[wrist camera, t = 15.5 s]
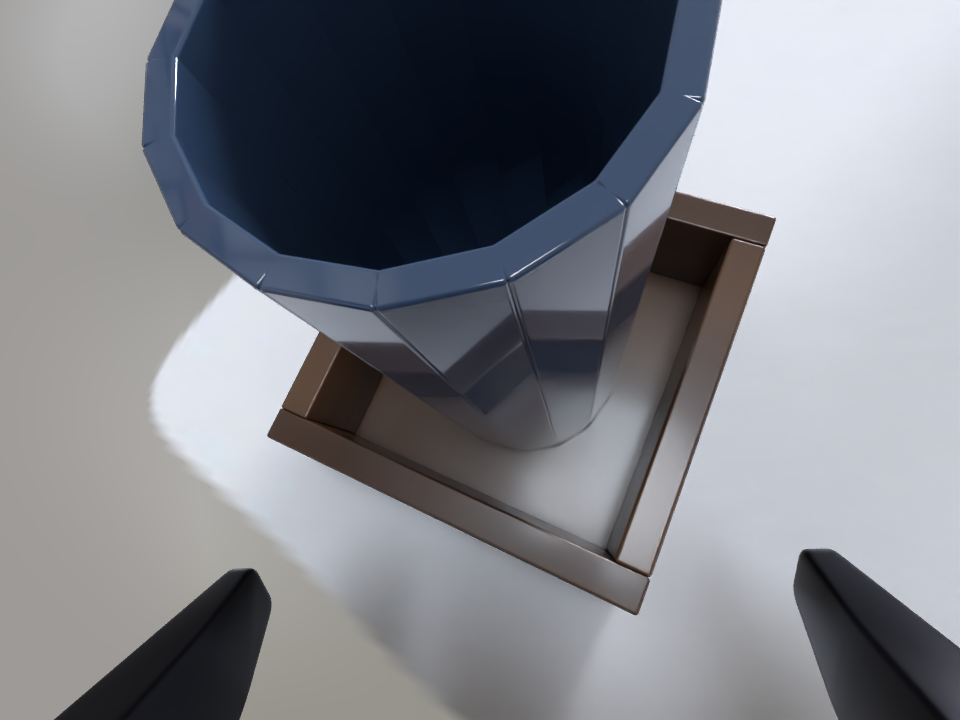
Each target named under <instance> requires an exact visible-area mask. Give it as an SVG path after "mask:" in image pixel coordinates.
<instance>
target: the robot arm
mask: <svg viewBox="0 0 960 720" xmlns="http://www.w3.org/2000/svg"><path fill="white" fill-rule="evenodd" d="M794 596H795V600H796V603H797V606H798V609H799V612H800V614H801V617H802V620H803V623H804V626H805V629H806V632H807V635H808V637H809V640H810V643H811V646H812V649H813V652H814V655H815V657H816V660H817V663H818V666H819V669H820V672H821V675H822V678H823V680H824V683H825V686H826V689H827V692H828V695H829V697H830V700H831V703H832V705H833V708H834V710H835V713H836V715H837V717H838V719H839V720H960V648H959V647H958V646H956V645H955V644H954V643H953V642H951V641H950V640H949V639H947V638H946V637H945V636H944V635H942V634H941V633H940V632H939V631H937V630H936V629H935V628H933V627H932V626H931V625H930V624H928V623H927V622H926V621H924V620H923V619H922V618H921V617H919V616H918V615H917V614H915V613H914V612H913V611H912V610H910V609H909V608H908V607H906V606H905V605H904V604H903V603H901V602H900V601H899V600H897V599H896V598H895V597H894V596H892V595H891V594H890V593H889V592H887V591H886V590H885V589H883V588H882V587H881V586H880V585H878V584H877V583H876V582H874V581H873V580H872V579H871V578H869V577H868V576H867V575H865V574H864V573H863V572H862V571H860V570H859V569H858V568H856V567H855V566H854V565H853V564H851V563H850V562H849V561H847V560H846V559H845V558H844V557H842V556H841V555H840V554H838V553H837V552H835V551H833V550H831V549H805V550H803V551H802V552H801V553H800V555H799V559H798V564H797V569H796V574H795V579H794ZM270 612H271V598H270V595H269V593H268V591H267V589H266V587H265V586H264V584H263V582H262V580H261V578H260V576H259V574H258V573H257V571H256V570H254V569H252V568H243V569H232V570H230V571H228V572H227V573H226V574H224V575H223V576H222V577H221V578H220V579H218V580H217V581H216V582H215V583H214V584H213V585H211V586H210V587H209V588H208V589H207V590H205V591H204V592H203V593H202V594H201V595H200V596H198V597H197V598H196V599H195V600H194V601H193V602H191V603H190V604H189V605H188V606H187V607H186V608H185V609H183V610H182V611H181V612H180V613H179V614H177V615H176V616H175V617H174V618H173V619H171V620H170V621H169V622H168V623H167V624H166V625H165V626H163V627H162V628H161V629H160V630H159V631H157V632H156V633H155V634H154V635H153V636H152V637H151V638H149V639H148V640H147V641H146V642H145V643H143V644H142V645H141V646H140V647H139V648H137V649H136V650H135V651H134V652H133V653H132V654H131V655H129V656H128V657H127V658H126V659H125V660H123V661H122V662H121V663H120V664H119V665H118V666H116V667H115V668H114V669H113V670H112V671H110V672H109V673H108V674H107V675H106V676H105V677H104V678H102V679H101V680H100V681H99V682H98V683H96V684H95V685H94V686H93V687H92V688H91V689H89V690H88V691H87V692H86V693H85V694H84V695H82V696H81V697H80V698H79V699H78V700H76V701H75V702H74V703H73V704H72V705H71V706H70V707H68V708H67V709H66V710H65V711H64V712H63V713H61V714H60V715H59V716H58V717H57V718H56V719H54V720H239V719H240V716H241V713H242V711H243V708H244V705H245V702H246V699H247V695H248V692H249V689H250V685H251V681H252V678H253V675H254V670H255V667H256V664H257V660H258V656H259V653H260V649H261V645H262V642H263V638H264V634H265V631H266V627H267V624H268V620H269V616H270Z"/></svg>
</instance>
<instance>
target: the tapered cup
mask: <svg viewBox="0 0 960 720" xmlns="http://www.w3.org/2000/svg"><path fill="white" fill-rule="evenodd" d="M721 6H722V0H174V2H173V4H172V6H171V8H170V10H169V12H168V15H167V17H166V19H165V21H164V23H163V25H162V28H161V30H160V32H159V35H158V36H157V38H156V41H155V43H154V45H153V47H152V49H151V51H150V54H149V56H148V62H147V63H146V74H145V92H144V113H143V132H142V146H143V148H144V149H143V152H144V155H145V157H146V159H147V161H148V164H149V166H150V168H151V170H152V172H153V175H154V177H155V179H156V181H157V183H158V186H159V188H160V190H161V193H162V195H163V197H164V199H165V202H166V204H167V206H168V208H169V211H170V213H171V215H172V217H173V219H174V222H175V224H176V226H177V228H178V229H179V230H180V231H181V233H182V234H183V235H184V236H185V237H187V238H188V239H190V240H191V241H192V242H194V243H195V244H196V245H197V246H199V247H200V248H201V249H203V250H204V251H205V252H207V253H208V254H210V255H211V256H212V257H214V258H215V259H216V260H217V261H219V262H220V263H221V264H223V265H224V266H226V267H227V268H228V269H230V270H231V271H232V272H234V273H235V274H236V275H238V276H239V277H240V278H242V279H243V280H244V281H246V282H247V283H248V284H250V285H251V286H252V287H254V288H255V289H256V290H258V291H259V292H261V293H262V294H264V295H265V296H267V297H268V298H270V299H271V300H273V301H274V302H276V303H277V304H279V305H280V306H282V307H283V308H285V309H286V310H288V311H289V312H291V313H292V314H294V315H295V316H297V317H298V318H300V319H301V320H303V321H304V322H306V323H307V324H309V325H310V326H312V327H313V328H315V329H316V330H317V331H319V332H320V333H322V334H323V335H325V336H326V337H328V338H329V339H331V340H332V341H334V342H335V343H337V344H338V345H340V346H341V347H343V348H344V349H346V350H347V351H349V352H350V353H352V354H353V355H355V356H356V357H358V358H359V359H361V360H362V361H364V362H365V363H367V364H368V365H370V366H371V367H373V368H374V369H376V370H377V371H379V372H380V373H382V374H383V375H385V376H386V377H388V378H389V379H391V380H392V381H394V382H395V383H397V384H398V385H400V386H401V387H403V388H404V389H406V390H407V391H409V392H410V393H411V394H413V395H414V396H416V397H417V398H419V399H420V400H422V401H423V402H425V403H426V404H428V405H429V406H431V407H432V408H434V409H435V410H437V411H438V412H440V413H441V414H443V415H444V416H446V417H447V418H449V419H450V420H452V421H453V422H455V423H456V424H458V425H459V426H461V427H462V428H464V429H465V430H467V431H468V432H470V433H471V434H473V435H474V436H476V437H477V438H479V439H480V440H482V441H484V442H487V443H491V444H494V445H497V446H500V447H504V448H510V449H517V450H530V449H540V448H544V447H548V446H552V445H555V444H557V443H560V442H562V441H564V440H566V439H568V438H570V437H572V436H574V435H575V434H576V433H578V432H579V431H580V430H582V429H583V428H584V427H585V426H586V425H588V424H589V423H590V422H591V421H592V419H593V418H594V417H595V416H596V414H597V413H598V412H599V411H600V409H601V407H602V406H603V404H604V402H605V401H606V399H607V397H608V396H609V395H610V392H611V390H612V387H613V384H614V381H615V378H616V375H617V372H618V368H619V365H620V362H621V359H622V356H623V353H624V350H625V347H626V344H627V341H628V337H629V334H630V331H631V328H632V325H633V322H634V319H635V316H636V313H637V310H638V306H639V303H640V300H641V297H642V294H643V291H644V288H645V285H646V282H647V279H648V275H649V272H650V269H651V266H652V263H653V260H654V257H655V254H656V251H657V248H658V244H659V241H660V238H661V235H662V232H663V229H664V226H665V223H666V220H667V217H668V214H669V210H670V207H671V204H672V201H673V198H674V195H675V192H676V189H677V186H678V183H679V179H680V176H681V173H682V170H683V167H684V164H685V161H686V158H687V155H688V152H689V148H690V145H691V142H692V139H693V136H694V133H695V130H696V127H697V124H698V121H699V117H700V114H701V111H702V108H703V105H704V102H705V98H706V92H707V87H708V81H709V75H710V69H711V64H712V58H713V52H714V46H715V40H716V35H717V29H718V23H719V17H720V12H721Z"/></svg>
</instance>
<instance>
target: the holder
mask: <svg viewBox="0 0 960 720" xmlns="http://www.w3.org/2000/svg"><path fill="white" fill-rule="evenodd" d="M775 221H776V218H775V217H771V216H768V215H764V214H760V213H756V212H752V211H749V210H745V209H741V208H737V207H733V206H730V205H726V204H722V203H718V202H714V201H710V200H707V199H703V198H699V197H695V196H691V195H688V194H684V193H680V192H675V195H674V198H673V201H672V204H671V207H670V210H669V214H668V217H667V220H666V223H665V226H664V229H663V232H662V235H661V238H660V241H659V244H658V248H657V251H656V254H655V257H654V260H653V263H652V266H651V269H650V272H649V275H648V279H647V282H646V285H645V288H644V291H643V294H642V297H641V300H640V303H639V306H638V310H637V313H636V316H635V319H634V322H633V325H632V328H631V331H630V334H629V337H628V341H627V344H626V347H625V350H624V353H623V356H622V359H621V362H620V365H619V368H618V372H617V375H616V378H615V381H614V384H613V387H612V390H611V392H610V395H609V396H608V397H607V399H606V401H605V402H604V404H603V406H602V407H601V409H600V411H599V412H598V413H597V414H596V416H595V417H594V418H593V419H592V421H591V422H590V423H589V424H588V425H586V426H585V427H584V428H583V429H582V430H580V431H579V432H578V433H576V434H575V435H574V436H572V437H570V438H568V439H566V440H564V441H562V442H560V443H557V444H555V445H552V446H548V447H544V448H540V449H530V450H517V449H510V448H504V447H500V446H497V445H494V444H491V443H487V442H484V441H482V440H480V439H479V438H477V437H476V436H474V435H473V434H471V433H470V432H468V431H467V430H465V429H464V428H462V427H461V426H459V425H458V424H456V423H455V422H453V421H452V420H450V419H449V418H447V417H446V416H444V415H443V414H441V413H440V412H438V411H437V410H435V409H434V408H432V407H431V406H429V405H428V404H426V403H425V402H423V401H422V400H420V399H419V398H417V397H416V396H414V395H413V394H411V393H410V392H409V391H407V390H406V389H404V388H403V387H401V386H400V385H398V384H397V383H395V382H394V381H392V380H391V379H389V378H388V377H386V376H385V375H383V374H382V373H380V372H379V371H377V370H376V369H374V368H373V367H371V366H370V365H368V364H367V363H365V362H364V361H362V360H361V359H359V358H358V357H356V356H355V355H353V354H352V353H350V352H349V351H347V350H346V349H344V348H343V347H341V346H340V345H338V344H337V343H335V342H334V341H332V340H331V339H329V338H328V337H326V336H325V335H323V334H322V333H320V332H319V334H318V336H317V338H316V340H315V342H314V344H313V346H312V348H311V350H310V351H309V353H308V355H307V357H306V359H305V361H304V363H303V365H302V367H301V369H300V371H299V373H298V375H297V377H296V379H295V381H294V383H293V385H292V387H291V389H290V391H289V393H288V395H287V397H286V399H285V401H284V403H283V405H282V408H283V409H280V411H279V413H278V415H277V417H276V419H275V421H274V423H273V425H272V427H271V429H270V430H269V432H268V435H267V436H268V437H269V438H271V439H273V440H275V441H277V442H279V443H281V444H283V445H285V446H287V447H289V448H291V449H293V450H295V451H298V452H300V453H302V454H304V455H306V456H308V457H310V458H312V459H314V460H316V461H318V462H320V463H322V464H324V465H326V466H328V467H330V468H333V469H335V470H337V471H339V472H341V473H343V474H345V475H347V476H349V477H351V478H353V479H355V480H357V481H359V482H361V483H363V484H365V485H368V486H370V487H372V488H374V489H376V490H378V491H380V492H382V493H384V494H386V495H388V496H390V497H392V498H394V499H396V500H398V501H400V502H403V503H405V504H407V505H409V506H411V507H413V508H415V509H417V510H419V511H421V512H423V513H425V514H427V515H429V516H431V517H433V518H435V519H438V520H440V521H442V522H444V523H446V524H448V525H450V526H452V527H454V528H456V529H458V530H460V531H462V532H464V533H466V534H468V535H470V536H473V537H475V538H477V539H479V540H481V541H483V542H485V543H487V544H489V545H491V546H493V547H495V548H497V549H499V550H501V551H503V552H505V553H508V554H510V555H512V556H514V557H516V558H518V559H520V560H522V561H524V562H526V563H528V564H530V565H532V566H534V567H536V568H538V569H540V570H543V571H545V572H547V573H549V574H551V575H553V576H555V577H557V578H559V579H561V580H563V581H565V582H567V583H569V584H571V585H573V586H575V587H578V588H580V589H582V590H584V591H586V592H588V593H590V594H592V595H594V596H596V597H598V598H600V599H602V600H604V601H606V602H608V603H610V604H613V605H615V606H617V607H619V608H621V609H623V610H625V611H627V612H629V613H631V614H633V615H638V613H639V611H640V608H641V605H642V602H643V599H644V596H645V594H646V591H647V588H648V585H649V582H650V580H649V578H648V577H650V576H651V575H652V573H653V570H654V567H655V564H656V562H657V559H658V556H659V553H660V550H661V547H662V544H663V541H664V539H665V536H666V533H667V530H668V527H669V524H670V521H671V519H672V516H673V513H674V510H675V507H676V504H677V501H678V498H679V496H680V493H681V490H682V487H683V484H684V481H685V478H686V476H687V473H688V470H689V467H690V464H691V461H692V458H693V455H694V453H695V450H696V447H697V444H698V441H699V438H700V435H701V433H702V430H703V427H704V424H705V421H706V418H707V415H708V412H709V410H710V407H711V404H712V401H713V398H714V395H715V392H716V390H717V387H718V384H719V381H720V378H721V375H722V372H723V369H724V367H725V364H726V361H727V358H728V355H729V352H730V349H731V347H732V344H733V341H734V338H735V335H736V332H737V329H738V326H739V324H740V321H741V318H742V315H743V312H744V309H745V306H746V304H747V301H748V298H749V295H750V292H751V289H752V286H753V283H754V281H755V278H756V275H757V272H758V269H759V266H760V263H761V261H762V258H763V255H764V252H765V247H766V246H767V244H768V241H769V238H770V235H771V232H772V230H773V227H774V224H775Z"/></svg>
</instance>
